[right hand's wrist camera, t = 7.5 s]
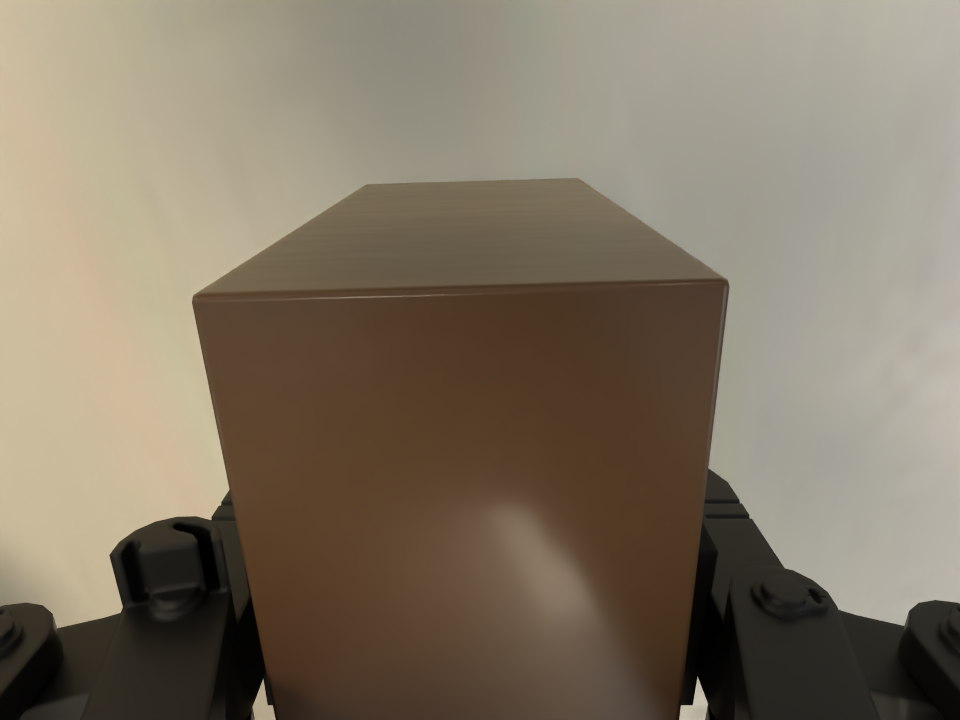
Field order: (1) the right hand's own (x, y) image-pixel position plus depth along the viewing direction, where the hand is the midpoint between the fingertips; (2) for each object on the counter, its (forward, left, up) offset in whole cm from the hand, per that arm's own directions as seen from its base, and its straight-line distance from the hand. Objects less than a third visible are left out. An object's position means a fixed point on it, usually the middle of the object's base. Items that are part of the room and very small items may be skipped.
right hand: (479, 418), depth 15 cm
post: (+17, -19, -1) cm, 26 cm away
